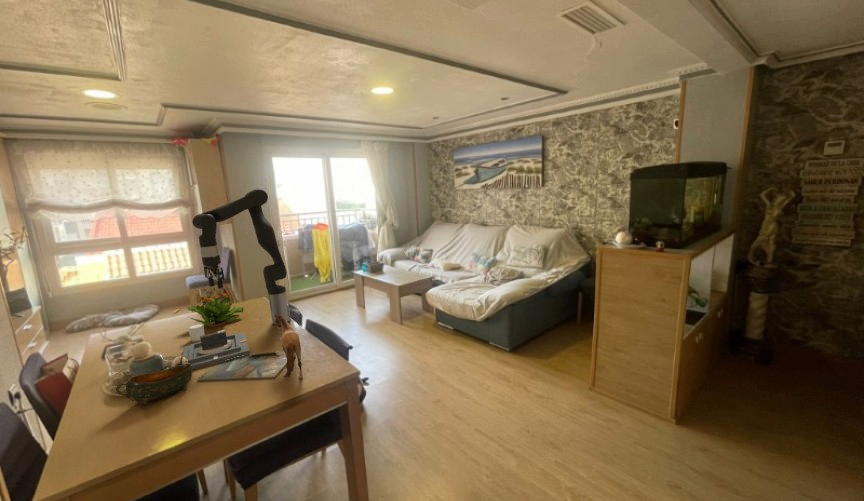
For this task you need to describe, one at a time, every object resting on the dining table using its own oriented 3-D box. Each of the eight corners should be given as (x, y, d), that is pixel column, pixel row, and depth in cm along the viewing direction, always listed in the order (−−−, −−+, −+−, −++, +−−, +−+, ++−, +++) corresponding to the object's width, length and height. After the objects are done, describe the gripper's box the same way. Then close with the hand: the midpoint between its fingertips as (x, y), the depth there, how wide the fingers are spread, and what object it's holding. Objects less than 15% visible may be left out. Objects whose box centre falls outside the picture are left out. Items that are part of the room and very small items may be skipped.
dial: (196, 347, 164) (194, 333, 163) (230, 338, 172) (228, 324, 171) (198, 358, 153) (195, 342, 152) (234, 348, 161) (231, 333, 160)
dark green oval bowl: (136, 392, 132) (130, 368, 131) (196, 381, 139) (192, 357, 137) (118, 413, 120) (112, 386, 119) (185, 399, 127) (180, 374, 125)
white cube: (209, 335, 184) (206, 323, 183) (199, 341, 177) (196, 328, 176) (197, 336, 185) (194, 323, 183) (186, 341, 178) (184, 329, 177)
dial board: (245, 335, 181) (244, 329, 180) (249, 354, 159) (248, 347, 158) (184, 350, 167) (183, 343, 167) (180, 373, 145) (178, 365, 145)
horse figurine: (280, 357, 154) (274, 313, 151) (299, 352, 158) (293, 309, 154) (285, 392, 127) (277, 339, 123) (307, 385, 130) (300, 334, 126)
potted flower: (222, 332, 187) (217, 301, 184) (179, 334, 188) (173, 303, 185) (247, 315, 212) (243, 287, 209) (209, 317, 213) (204, 290, 209)
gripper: (195, 255, 171) (201, 287, 173) (209, 257, 163) (215, 290, 166) (211, 253, 177) (217, 283, 180) (225, 254, 169) (231, 286, 172)
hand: (216, 287), depth 173 cm, fingers open, 8 cm apart
